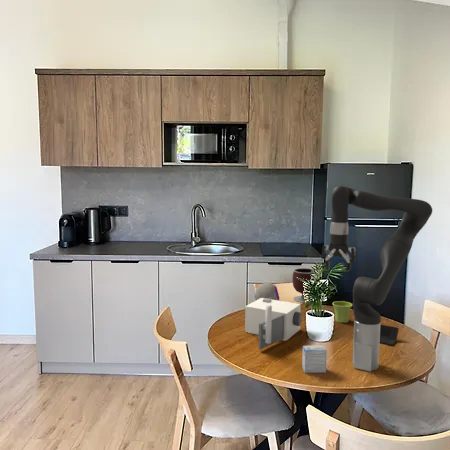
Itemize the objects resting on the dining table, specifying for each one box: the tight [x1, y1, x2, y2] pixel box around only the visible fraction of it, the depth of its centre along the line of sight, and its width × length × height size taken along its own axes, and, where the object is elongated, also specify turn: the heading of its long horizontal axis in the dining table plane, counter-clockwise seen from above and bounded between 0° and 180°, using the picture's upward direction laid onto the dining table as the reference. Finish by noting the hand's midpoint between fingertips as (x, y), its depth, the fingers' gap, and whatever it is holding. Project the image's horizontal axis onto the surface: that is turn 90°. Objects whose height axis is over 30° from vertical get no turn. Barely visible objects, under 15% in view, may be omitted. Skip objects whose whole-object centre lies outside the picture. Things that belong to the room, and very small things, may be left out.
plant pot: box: [332, 300, 353, 324], centre depth 210 cm, size 9×9×9 cm
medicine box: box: [301, 345, 328, 374], centre depth 157 cm, size 8×4×9 cm, turn 92°
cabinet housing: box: [244, 298, 303, 342], centre depth 196 cm, size 16×22×13 cm
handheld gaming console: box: [380, 324, 400, 347], centre depth 186 cm, size 12×7×10 cm
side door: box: [258, 305, 284, 351], centre depth 177 cm, size 5×16×18 cm, turn 137°
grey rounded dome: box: [254, 282, 280, 301], centre depth 225 cm, size 13×13×15 cm
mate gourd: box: [292, 267, 314, 304], centre depth 245 cm, size 16×14×20 cm
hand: (337, 270), depth 186 cm, fingers open, 8 cm apart
